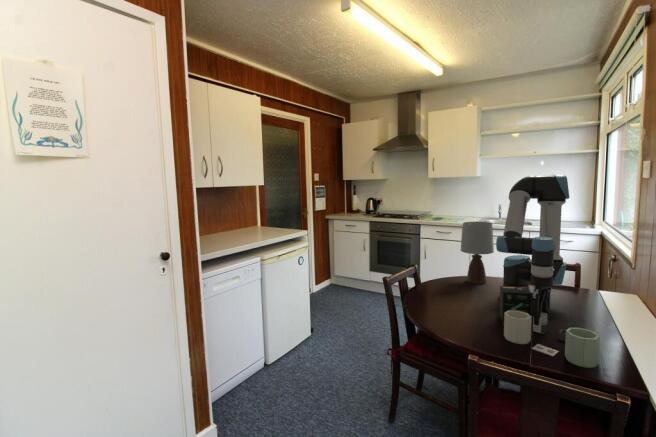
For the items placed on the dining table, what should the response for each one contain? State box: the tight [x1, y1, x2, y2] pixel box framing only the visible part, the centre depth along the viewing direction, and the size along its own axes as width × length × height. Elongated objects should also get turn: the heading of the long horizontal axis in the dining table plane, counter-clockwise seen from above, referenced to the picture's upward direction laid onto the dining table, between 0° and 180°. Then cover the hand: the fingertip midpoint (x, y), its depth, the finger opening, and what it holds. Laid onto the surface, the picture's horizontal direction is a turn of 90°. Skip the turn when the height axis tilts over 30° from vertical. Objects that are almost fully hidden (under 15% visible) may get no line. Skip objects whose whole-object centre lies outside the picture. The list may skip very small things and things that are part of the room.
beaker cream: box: [503, 310, 532, 345], centre depth 129 cm, size 9×9×10 cm
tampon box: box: [499, 285, 532, 325], centre depth 145 cm, size 11×9×15 cm
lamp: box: [460, 221, 495, 285], centre depth 201 cm, size 19×19×37 cm
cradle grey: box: [533, 324, 548, 335], centre depth 135 cm, size 4×4×3 cm
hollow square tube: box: [557, 328, 567, 342], centre depth 128 cm, size 4×4×3 cm
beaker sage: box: [564, 327, 601, 369], centre depth 112 cm, size 9×9×10 cm
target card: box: [531, 343, 560, 357], centre depth 120 cm, size 7×5×1 cm
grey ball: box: [541, 314, 548, 326], centre depth 135 cm, size 5×5×5 cm
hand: (539, 329), depth 135 cm, fingers closed on grey ball, 5 cm apart
